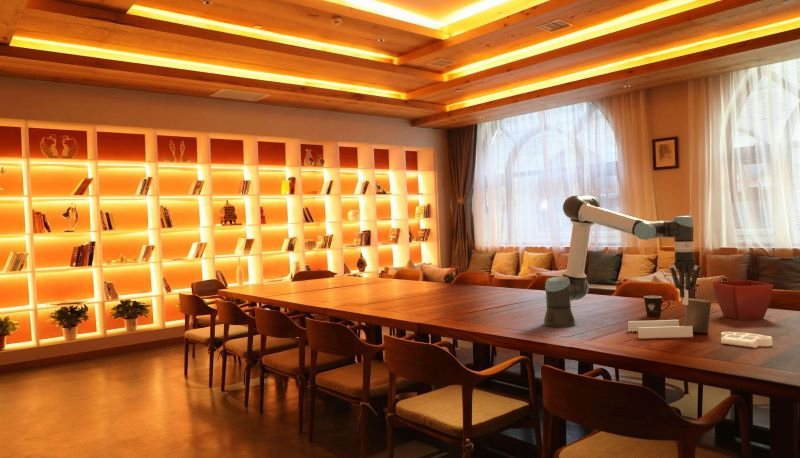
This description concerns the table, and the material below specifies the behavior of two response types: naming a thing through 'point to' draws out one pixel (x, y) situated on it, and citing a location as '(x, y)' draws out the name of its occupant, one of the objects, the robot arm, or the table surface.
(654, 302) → the coffee mug
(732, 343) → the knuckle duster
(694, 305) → the pillar candle
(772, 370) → the table surface
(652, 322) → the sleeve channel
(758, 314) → the plant pot
